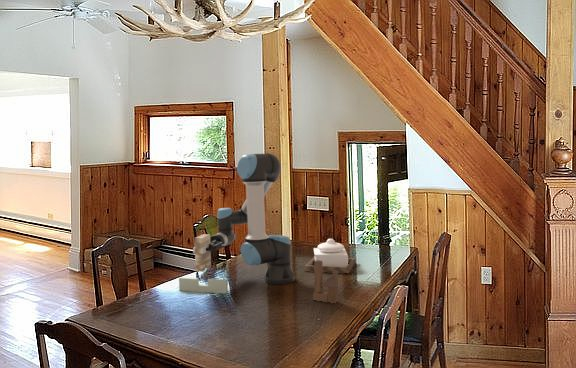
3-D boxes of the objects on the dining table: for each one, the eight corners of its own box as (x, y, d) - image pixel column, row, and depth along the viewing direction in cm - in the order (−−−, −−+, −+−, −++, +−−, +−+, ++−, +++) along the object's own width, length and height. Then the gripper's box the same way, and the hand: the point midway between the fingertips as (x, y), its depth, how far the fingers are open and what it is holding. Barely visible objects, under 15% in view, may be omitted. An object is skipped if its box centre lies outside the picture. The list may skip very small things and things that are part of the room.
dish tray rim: (355, 263, 332) (355, 258, 332) (348, 273, 309) (348, 268, 309) (314, 261, 338) (314, 256, 338) (304, 271, 315) (304, 265, 315)
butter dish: (348, 270, 315) (348, 241, 313) (314, 271, 315) (314, 241, 314) (345, 263, 332) (345, 235, 331) (313, 263, 333) (313, 235, 331)
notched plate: (211, 266, 286) (210, 234, 285) (202, 271, 277) (201, 238, 275) (204, 266, 287) (203, 234, 286) (195, 271, 278) (194, 237, 276)
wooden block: (334, 304, 256) (334, 263, 255) (312, 300, 262) (312, 261, 260) (338, 301, 260) (338, 261, 258) (316, 298, 265) (316, 259, 263)
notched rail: (227, 292, 277) (227, 279, 276) (226, 293, 275) (225, 280, 275) (181, 289, 283) (180, 277, 283) (179, 290, 281) (179, 278, 281)
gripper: (233, 249, 296) (214, 259, 274) (203, 248, 301) (182, 257, 279) (232, 234, 295) (213, 243, 273) (202, 233, 300) (181, 242, 278)
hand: (197, 250), depth 276 cm, fingers closed on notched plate, 3 cm apart
